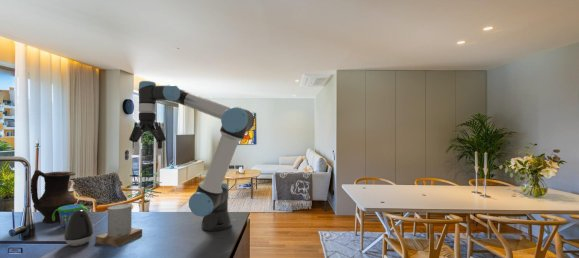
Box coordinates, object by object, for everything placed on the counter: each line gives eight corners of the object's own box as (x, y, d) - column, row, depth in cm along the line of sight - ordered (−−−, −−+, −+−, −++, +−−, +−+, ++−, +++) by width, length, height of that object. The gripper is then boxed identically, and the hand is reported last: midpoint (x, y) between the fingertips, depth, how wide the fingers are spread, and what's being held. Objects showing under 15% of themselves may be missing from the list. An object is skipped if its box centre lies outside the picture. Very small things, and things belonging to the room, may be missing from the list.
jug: (62, 213, 163) (62, 165, 163) (84, 216, 158) (85, 166, 158) (19, 225, 142) (19, 169, 143) (43, 228, 137) (43, 171, 138)
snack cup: (92, 221, 149) (92, 203, 149) (82, 227, 139) (83, 208, 139) (59, 223, 145) (59, 205, 145) (47, 230, 135) (47, 210, 135)
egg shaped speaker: (69, 250, 111) (70, 214, 112) (60, 245, 117) (60, 210, 117) (97, 242, 120) (97, 208, 120) (87, 237, 126) (87, 205, 126)
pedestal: (142, 235, 128) (142, 229, 128) (117, 246, 115) (117, 239, 115) (121, 232, 132) (121, 226, 132) (95, 243, 119) (95, 236, 119)
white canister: (123, 236, 119) (123, 209, 119) (102, 236, 119) (102, 209, 119) (136, 229, 128) (136, 203, 128) (116, 229, 128) (116, 203, 128)
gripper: (173, 112, 132) (173, 154, 132) (133, 113, 139) (133, 154, 139) (162, 111, 125) (162, 156, 125) (121, 112, 132) (120, 155, 131)
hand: (147, 155), depth 132 cm, fingers open, 13 cm apart
